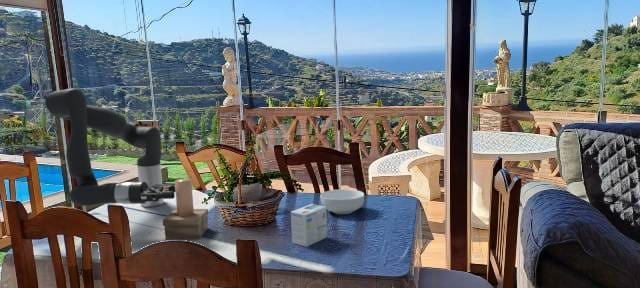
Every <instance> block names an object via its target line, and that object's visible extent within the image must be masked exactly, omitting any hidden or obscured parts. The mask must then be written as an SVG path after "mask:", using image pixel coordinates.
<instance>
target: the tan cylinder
mask: <svg viewBox="0 0 640 288" xmlns="http://www.w3.org/2000/svg"><path fill="white" fill-rule="evenodd" d="M174 186H175V192H174V193H175V202H176V209H177V216H180V217H186V216H191V215H193V214H194V209H195V208H194V198H193V197H194V196H193V195H194V194H193V184H192V179H191V178H178V179H175V180H174Z"/></svg>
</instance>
